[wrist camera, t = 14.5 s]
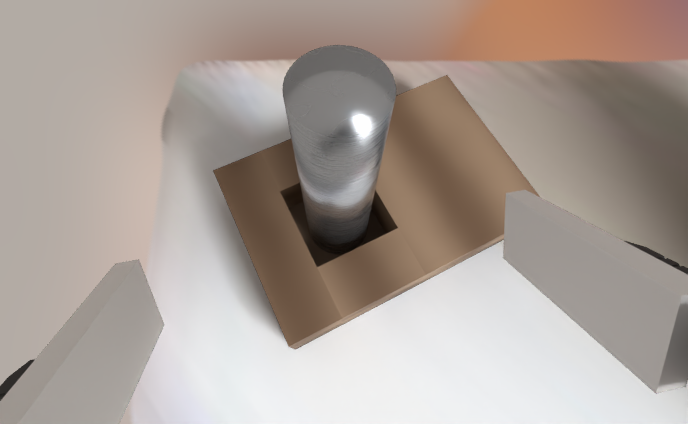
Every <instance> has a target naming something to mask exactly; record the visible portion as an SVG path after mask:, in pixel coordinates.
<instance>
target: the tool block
mask: <svg viewBox="0 0 688 424" xmlns="http://www.w3.org/2000/svg"><path fill="white" fill-rule="evenodd" d="M213 171H214V174H215V176H216V178H217V181H218V183H219V185H220V188H221V190H222V192H223V195H224V197H225V199H226V202H227V204H228V206H229V209H230V211H231V213H232V216H233V218H234V220H235V223H236V225H237V227H238V230H239V232H240V234H241V237H242V239H243V241H244V244H245V246H246V248H247V251H248V253H249V255H250V258H251V260H252V262H253V265H254V267H255V269H256V271H257V274H258V276H259V278H260V281H261V283H262V285H263V288H264V290H265V292H266V295H267V297H268V299H269V302H270V304H271V306H272V309H273V311H274V313H275V316H276V318H277V320H278V323H279V325H280V327H281V330H282V332H283V334H284V337H285V339H286V341H287V344H288V346H289V347H291V348H294V349H297V348H299V347H301V346H303V345H305V344H307V343H309V342H311V341H312V340H314V339H316V338H318V337H320V336H322V335H324V334H326V333H328V332H330V331H331V330H333V329H335V328H337V327H339V326H341V325H343V324H345V323H347V322H349V321H350V320H352V319H354V318H356V317H358V316H360V315H362V314H364V313H366V312H367V311H369V310H371V309H373V308H375V307H377V306H379V305H381V304H383V303H385V302H386V301H388V300H390V299H392V298H394V297H396V296H398V295H400V294H402V293H403V292H405V291H407V290H409V289H411V288H413V287H415V286H417V285H419V284H421V283H422V282H424V281H426V280H428V279H430V278H432V277H434V276H436V275H438V274H440V273H441V272H443V271H445V270H447V269H449V268H451V267H453V266H455V265H457V264H458V263H460V262H462V261H464V260H466V259H468V258H470V257H472V256H474V255H476V254H477V253H479V252H481V251H483V250H485V249H487V248H489V247H491V246H493V245H494V244H496V243H498V242H500V241H502V240H504V227H505V202H506V193H510V192H515V191H521V190H527V191H529V192H531V193H533V194H535V195H537V196H538V197H540V196H539V195H538V194H537V192H536V191H535V190H534V188H533V187H532V186H531V185H530V183H529V182H528V181H527V179H526V178H525V177H524V175H523V174H522V173H521V171H520V170H519V169H518V168H517V166H516V165H515V164H514V162H513V161H512V160H511V158H510V157H509V156H508V154H507V153H506V152H505V150H504V149H503V148H502V147H501V145H500V144H499V143H498V141H497V140H496V139H495V137H494V136H493V135H492V133H491V132H490V131H489V130H488V128H487V127H486V126H485V124H484V123H483V122H482V120H481V119H480V118H479V116H478V115H477V114H476V112H475V111H474V110H473V109H472V107H471V106H470V105H469V103H468V102H467V101H466V99H465V98H464V97H463V95H462V94H461V93H460V92H459V90H458V89H457V88H456V86H455V85H454V84H453V82H452V81H451V80H450V78H449V77H448V76H447V75H446V76H443V77H441V78H439V79H436V80H434V81H431V82H429V83H426V84H424V85H421V86H419V87H417V88H414V89H412V90H409V91H407V92H404V93H402V94H399V95H397V96H396V98H395V102H394V107H393V111H392V116H391V121H390V125H389V130H388V134H387V139H386V143H385V148H384V152H383V157H382V161H381V166H380V170H379V175H378V180H377V184H376V189H375V193H374V198H373V202H372V207H371V211H370V216H369V220H368V225H367V229H366V234H365V237H364V239H363V241H362V242H361V243H360V245H359V246H358V247H356V248H355V249H354V250H352V251H350V252H347V253H343V254H332V253H328V252H326V251H324V250H322V249H320V248H319V247H318V246H317V245H316V244H315V243H314V241H313V240H312V238H311V236H310V232H309V227H308V222H307V216H306V211H305V206H304V201H303V196H302V191H301V186H300V180H299V175H298V170H297V165H296V160H295V155H294V149H293V144H292V139H289V140H287V141H284V142H282V143H280V144H277V145H275V146H272V147H270V148H267V149H265V150H262V151H260V152H258V153H255V154H253V155H250V156H248V157H245V158H243V159H240V160H238V161H235V162H233V163H231V164H228V165H226V166H223V167H221V168H218V169H216V170H213Z"/></svg>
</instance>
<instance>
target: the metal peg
mask: <svg viewBox="0 0 688 424" xmlns="http://www.w3.org/2000/svg"><path fill="white" fill-rule="evenodd" d="M283 98H284V103H285V108H286V113H287V118H288V124H289V129H290V134H291V139H292V144H293V149H294V155H295V160H296V165H297V170H298V175H299V180H300V186H301V191H302V196H303V201H304V206H305V211H306V216H307V222H308V227H309V232H310V236H311V238H312V240H313V241H314V243H315V244H316V245H317V246H318V247H319V248H320V249H322V250H324V251H326V252H328V253H332V254H343V253H347V252H350V251H352V250H354V249H355V248H356V247H358V246H359V245H360V243H361V242H362V241H363V239H364V237H365V234H366V229H367V225H368V220H369V216H370V211H371V207H372V202H373V198H374V193H375V189H376V184H377V180H378V175H379V170H380V166H381V161H382V157H383V152H384V148H385V143H386V139H387V134H388V130H389V125H390V121H391V116H392V111H393V107H394V102H395V98H396V84H395V80H394V77H393V75H392V73H391V71H390V70H389V68H388V67H387V66H386V64H385V63H384V62H383V61H381V60H380V59H379V58H377V57H376V56H375V55H373V54H372V53H370V52H368V51H365V50H363V49H360V48H357V47H352V46H345V45H333V46H325V47H321V48H318V49H314V50H312V51H310V52H308V53H306V54H305V55H303V56H301V57H300V58H299V59H297V60H296V61H295V62H294V63H293V65H292V66H291V67H290V68H289V70H288V72H287V73H286V76H285V78H284V82H283Z"/></svg>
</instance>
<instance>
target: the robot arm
mask: <svg viewBox="0 0 688 424" xmlns="http://www.w3.org/2000/svg"><path fill="white" fill-rule="evenodd" d="M503 258H504V259H505V260H506V261H507V262H508V263H509V264H510V265H512V266H513V267H514V268H515V269H516V270H517V271H518V272H519V273H521V274H522V275H523V276H524V277H525V278H526V279H527V280H528V281H530V282H531V283H532V284H533V285H534V286H535V287H536V288H537V289H539V290H540V291H541V292H542V293H543V294H544V295H545V296H546V297H548V298H549V299H550V300H551V301H552V302H553V303H554V304H556V305H557V306H558V307H559V308H560V309H561V310H562V311H563V312H565V313H566V314H567V315H568V316H569V317H570V318H571V319H572V320H574V321H575V322H576V323H577V324H578V325H579V326H580V327H581V328H583V329H584V330H585V331H586V332H587V333H588V334H589V335H590V336H592V337H593V338H594V339H595V340H596V341H597V342H598V343H599V344H601V345H602V346H603V347H604V348H605V349H606V350H607V351H608V352H610V353H611V354H612V355H613V356H614V357H615V358H616V359H617V360H619V361H620V362H621V363H622V364H623V365H624V366H625V367H626V368H628V369H629V370H630V371H631V372H632V373H633V374H634V375H636V376H637V377H638V378H639V379H640V380H641V381H642V382H643V383H645V384H646V385H647V386H648V387H649V388H650V389H651V390H652V391H654V392H655V393H656V394H657V393H662V392H666V391H670V390H674V389H678V388H682V387H686V384H687V380H688V268H686V267H684V266H681V267H680V266H679V264H678V263H676V262H674V261H672V260H670V259H668V258H667V259H665V258H664V256H662V255H660V254H658V253H656V252H654V251H652V250H650V249H649V248H647V247H643V246H640V245H637V244H634V243H630V242H627V241H623V240H621V239H619V238H617V237H615V236H613V235H611V234H609V233H607V232H605V231H603V230H602V229H600V228H598V227H596V226H594V225H592V224H590V223H588V222H586V221H584V220H582V219H580V218H579V217H577V216H575V215H573V214H571V213H569V212H567V211H565V210H563V209H561V208H559V207H558V206H556V205H554V204H552V203H550V202H548V201H546V200H544V199H542V198H540V197H538V196H537V195H535V194H533V193H531V192H529V191H527V190H521V191H515V192H510V193H506V202H505V227H504V252H503ZM163 327H164V323H163V320H162V318H161V315H160V312H159V310H158V307H157V305H156V302H155V300H154V297H153V295H152V292H151V289H150V287H149V284H148V282H147V279H146V277H145V274H144V271H143V269H142V266H141V264H140V261H139V260H133V261H128V262H122V263H117V264H115V265H114V266H113V267H112V268H111V270H110V271H109V272H108V273H107V274H106V275H105V277H104V278H103V279H102V280H101V281H100V283H99V284H98V285H97V287H95V289H94V290H93V291H92V292H91V294H90V295H89V296H88V297H87V298H86V300H85V301H84V302H83V303H82V304H81V305H80V307H79V308H78V309H77V310H76V311H75V313H74V314H73V315H72V316H71V317H70V319H69V320H68V321H67V322H66V323H65V325H64V326H63V327H62V328H61V329H60V330H59V332H58V333H57V334H56V335H55V336H54V338H53V339H52V340H51V341H50V342H49V344H48V345H47V346H46V347H45V348H44V350H43V351H42V352H41V353H40V355H39V356H38V357H37V358H36V359H35V360H30V361H28V362H27V363H26V364H25V365H23V366H22V367H21V368H19V369H18V370H17V371H16V372H14V373H13V374H12V375H10V376H9V377H8V378H7V379H6V380H5V381H4V383H3V384H2V385H1V386H0V424H119V423H120V421H121V419H122V417H123V415H124V413H125V410H126V408H127V406H128V404H129V402H130V399H131V397H132V395H133V393H134V391H135V388H136V386H137V384H138V382H139V380H140V377H141V375H142V373H143V371H144V369H145V366H146V364H147V362H148V360H149V358H150V355H151V353H152V351H153V349H154V347H155V344H156V342H157V340H158V338H159V336H160V333H161V331H162V329H163Z"/></svg>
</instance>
